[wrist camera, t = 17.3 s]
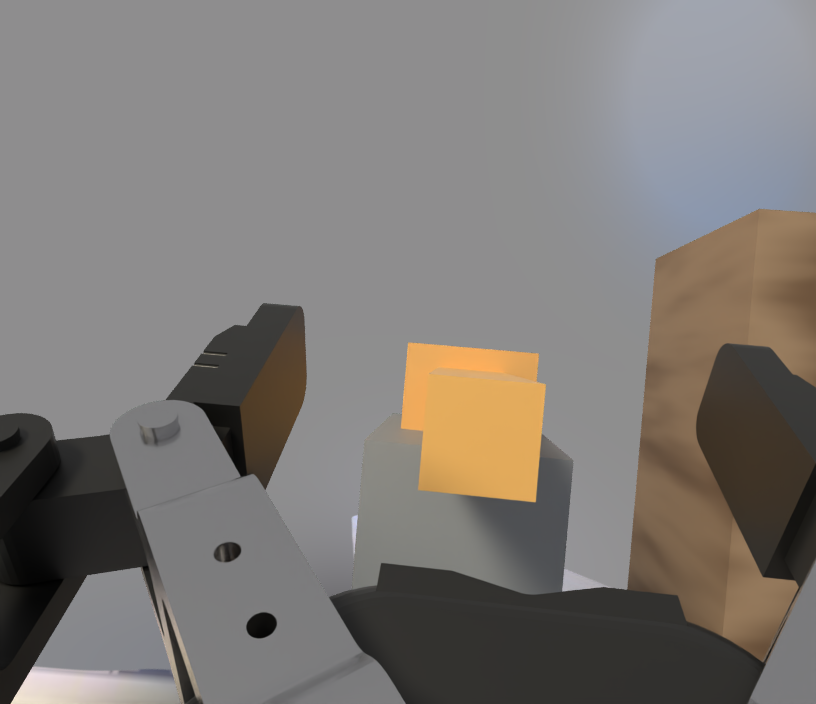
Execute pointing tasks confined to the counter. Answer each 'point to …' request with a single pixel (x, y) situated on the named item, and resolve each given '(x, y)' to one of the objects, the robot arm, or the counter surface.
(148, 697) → the counter surface
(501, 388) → the orange block
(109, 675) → the counter surface
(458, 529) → the block
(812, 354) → the tall wooden block
